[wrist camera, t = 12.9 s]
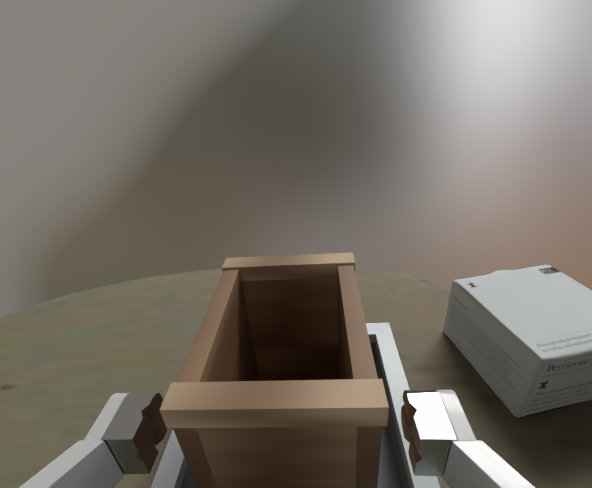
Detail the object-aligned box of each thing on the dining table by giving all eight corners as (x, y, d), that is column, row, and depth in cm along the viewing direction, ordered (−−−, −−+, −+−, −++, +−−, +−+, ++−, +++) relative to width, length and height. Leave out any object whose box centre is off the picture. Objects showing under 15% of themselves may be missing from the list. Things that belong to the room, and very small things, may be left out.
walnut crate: (351, 392, 21) (352, 252, 16) (373, 569, 13) (388, 407, 9) (253, 394, 21) (226, 258, 16) (223, 565, 14) (159, 410, 9)
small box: (516, 423, 19) (540, 360, 17) (440, 331, 26) (450, 277, 24) (630, 396, 20) (669, 332, 18) (528, 314, 27) (546, 260, 25)
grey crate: (385, 365, 23) (388, 322, 21) (468, 691, 11) (492, 657, 9) (221, 368, 24) (211, 328, 22) (130, 677, 12) (91, 643, 10)
